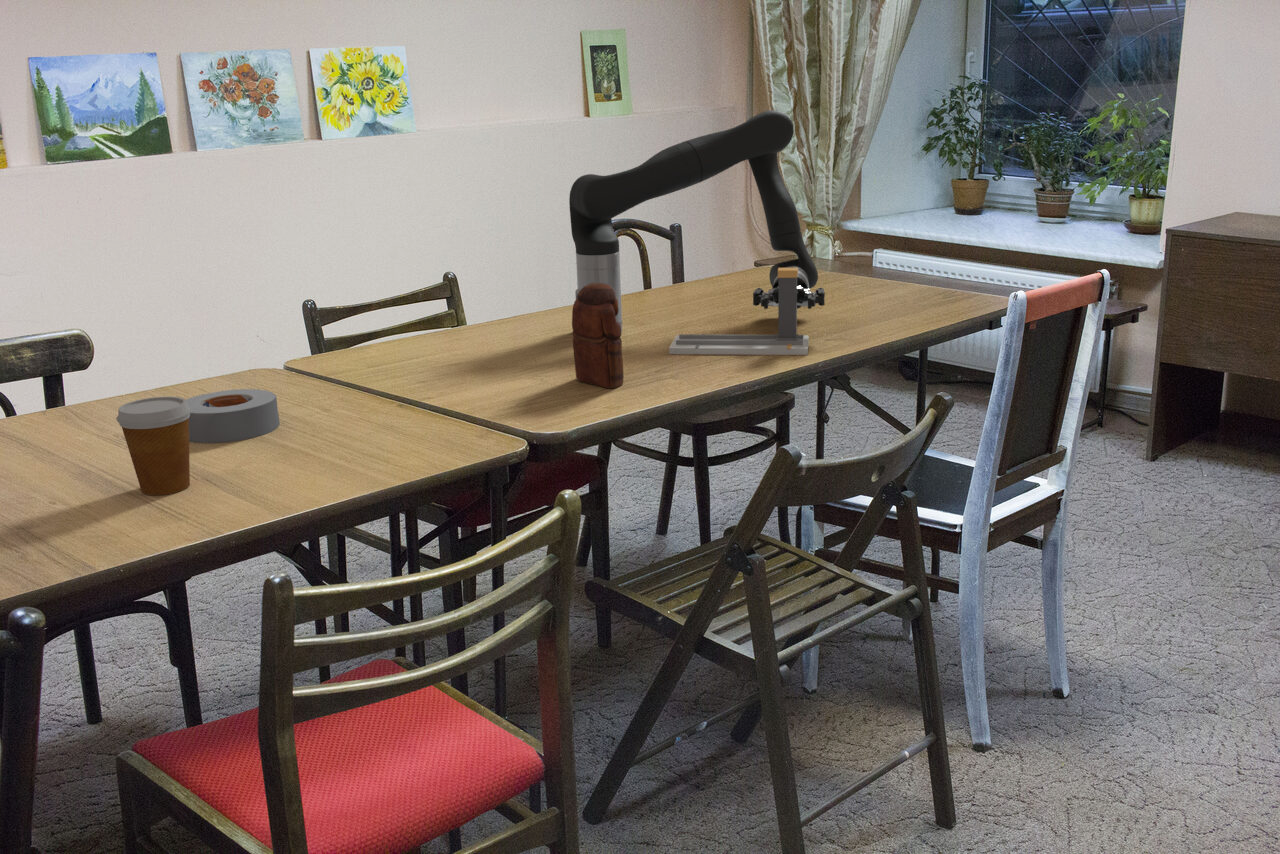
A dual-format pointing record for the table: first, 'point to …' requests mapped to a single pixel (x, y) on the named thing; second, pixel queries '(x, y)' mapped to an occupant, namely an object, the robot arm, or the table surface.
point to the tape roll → (232, 415)
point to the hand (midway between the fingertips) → (787, 303)
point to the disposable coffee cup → (158, 442)
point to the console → (738, 345)
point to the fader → (787, 304)
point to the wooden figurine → (597, 336)
